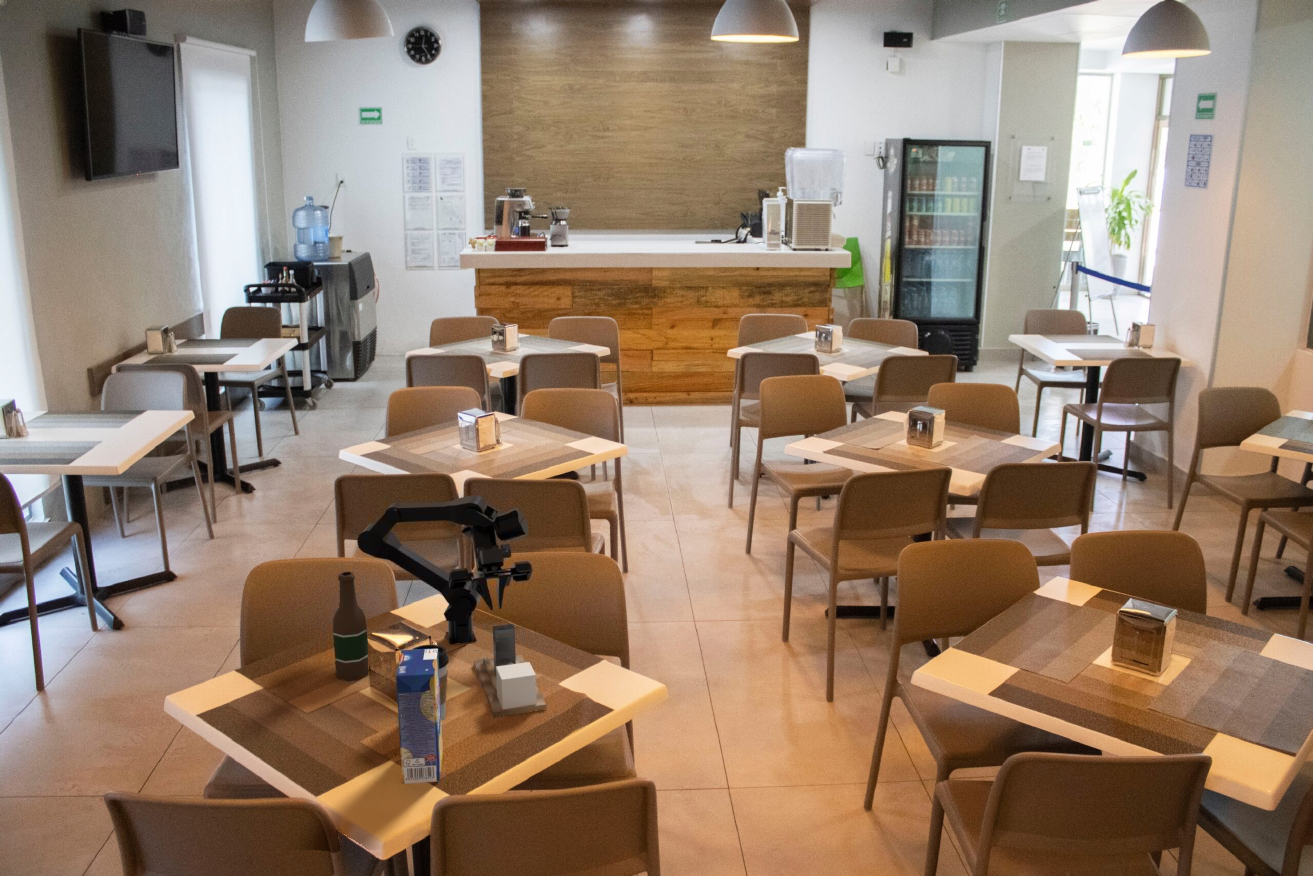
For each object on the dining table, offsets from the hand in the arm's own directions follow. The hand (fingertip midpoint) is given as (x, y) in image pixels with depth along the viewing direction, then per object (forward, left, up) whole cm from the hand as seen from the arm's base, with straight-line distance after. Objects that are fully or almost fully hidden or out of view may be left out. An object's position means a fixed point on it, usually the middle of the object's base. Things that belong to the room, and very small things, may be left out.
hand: (496, 609), depth 252 cm
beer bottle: (-4, -32, -13) cm, 35 cm away
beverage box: (+40, -22, -13) cm, 47 cm away
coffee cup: (+21, -18, -13) cm, 30 cm away
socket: (+21, 0, -12) cm, 24 cm away
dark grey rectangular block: (+12, 0, -12) cm, 17 cm away
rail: (+13, 0, -13) cm, 18 cm away
